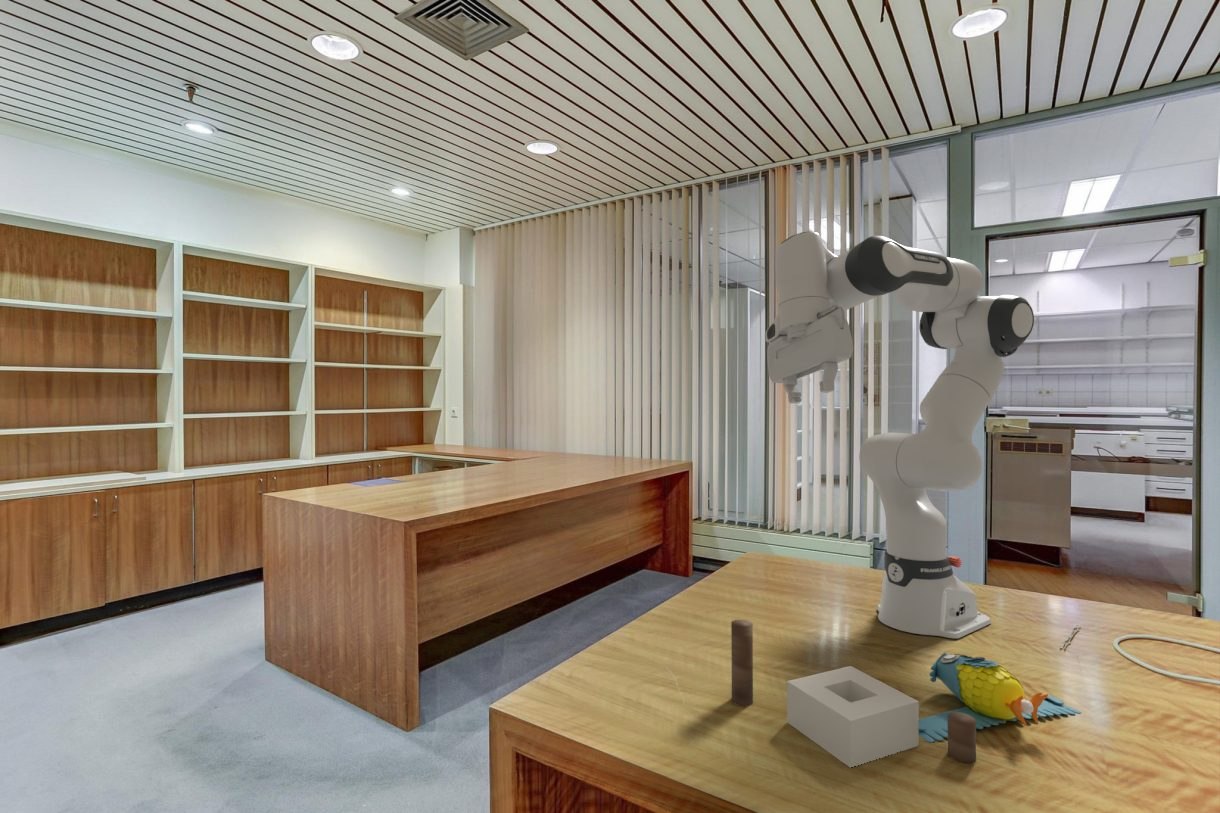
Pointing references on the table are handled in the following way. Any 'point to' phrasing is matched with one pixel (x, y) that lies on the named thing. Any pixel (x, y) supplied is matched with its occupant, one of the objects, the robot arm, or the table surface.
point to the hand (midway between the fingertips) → (810, 397)
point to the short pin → (962, 737)
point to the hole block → (853, 715)
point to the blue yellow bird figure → (985, 696)
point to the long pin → (742, 662)
